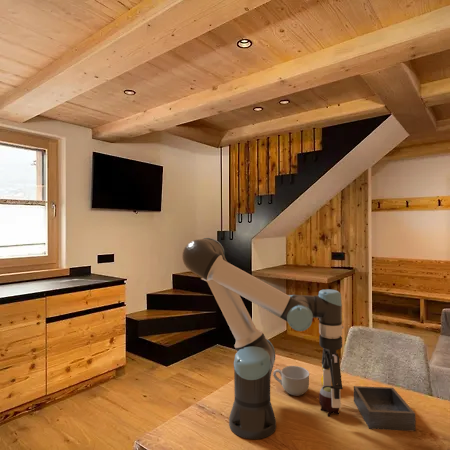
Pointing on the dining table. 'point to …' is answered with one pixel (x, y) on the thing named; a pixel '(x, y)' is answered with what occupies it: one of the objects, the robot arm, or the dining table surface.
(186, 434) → the dining table surface
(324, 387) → the mate gourd
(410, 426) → the tray
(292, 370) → the teacup
